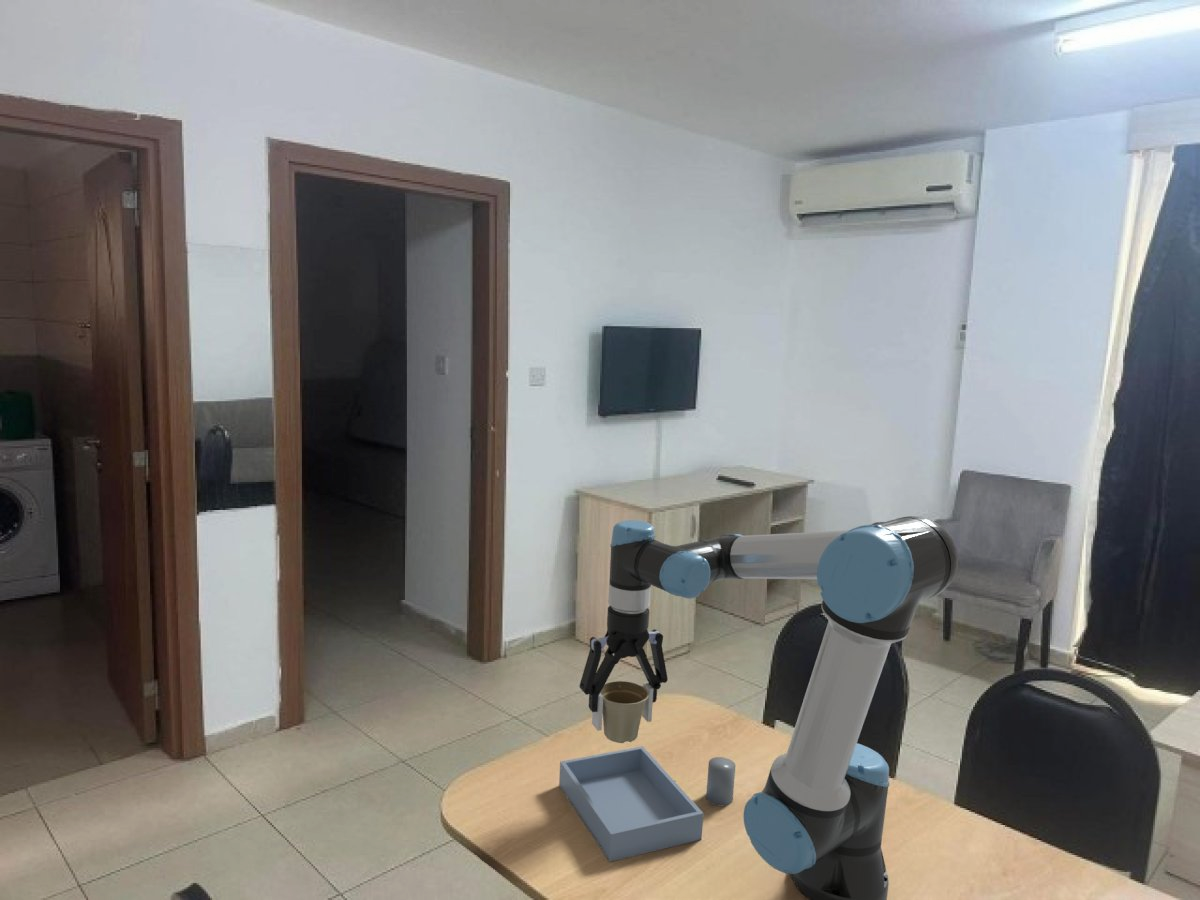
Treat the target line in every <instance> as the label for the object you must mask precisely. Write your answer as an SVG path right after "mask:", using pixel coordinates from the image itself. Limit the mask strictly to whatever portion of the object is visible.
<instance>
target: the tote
mask: <svg viewBox="0 0 1200 900" xmlns="http://www.w3.org/2000/svg"><path fill="white" fill-rule="evenodd" d="M558 785H559V786H558V787H560V789H561V790H562V793H563V794H564V795H565V797H566V799H567V800H568V801H569V803H570V804H571V806H572V807H573V808H574V811H575V812H576V814H577V815H578V816H579V818H580V819H581V821H582V822H583V824H584V826H585V827H586V829H587V831H588V832H589V834H591V836H592V838H593V839H594V840H595V842H596V843H597V845H598V847H599V848H600V850H601V851H602V853H603V854H604V856H605V857H606V858H607V861H608V862H615V861H618V860H622V859H627V858H631V857H636V856H639V855H643V854H646V853H647V854H648V853H652V852H655V851H659V850H660V851H661V850H663V849H667V848H672V847H675V846H680V845H683V844H688V843H693V842H697V841H701V840H702V838H703V835H702V834H703V824H704V812H703V811H702V810H701V808H699V807H698V805H697V804H696V803H695V802H694V801H693V799H692V798H690V796H689V795H687V793H686V792H685V791H684V790H683V789H682V787H680V786H679V785H678V783H677V782H676V781H675V780H674V779H673V778H672V777H671V775H669V774H668V773H667V771H666V770H665V769H664V768H663V766H661V765H660V764H659V762H658V761H657V760H656V759H655V758H654V757H653V756H652V754H650V752H649V751H648V750H647V749H646V748H645V747H644V746H637V747H633V748H632V747H631V748H625V749H620V750H616V751H611V752H610V751H609V752H604V753H598V754H594V755H587V756H582V757H578V758H573V759H566V760H562V761H561V760H560V763H559V783H558Z"/></svg>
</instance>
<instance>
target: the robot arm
mask: <svg viewBox="0 0 1200 900" xmlns="http://www.w3.org/2000/svg"><path fill="white" fill-rule="evenodd" d="M611 535H612V536H611V542H610V545H609V546H610V564H609V565H610V566H609V583H608V600H607V601H608V605H609V606H608V607H607V618H606V622H607V623H606V633H605V634H604V636H603V637H598V638H596V637H594V636H592V637H590V639H589V652H588V655H587V659H586V662H585V665H584V669H583V671H582V672H583V673H582V676H581V679H580V683H579V685H578V687H579V689H581V691H582V692H583V693H584V694H585V695H588V709H589V710H590V712H591V713H592V715H591V725H593V726H594V728H595V730H597V732H598V731H602V727H603V695H602V694H601V693H600V692H601V690H602V689H603V687H604V685H605V683H607V682H608V679H609V678H610V676H611V673H612V672H613V670H614V668H615V666H616V665H617V664H619V662H620V660H621V659H625V658H628V657H629V658H634V657H635V658H636V660H637V661H638V662H637V663H638V664H639V666H640V668H641V671H642V672H643V674H644V676H645V678H646V681H647V682H643V683H642V684H643V685H642V686H644V687H645V688H646V689H647V690H648V692H649V698H648V699H647V700H646V704H645V705H644V707H643V712H642V716H641V718H644V720H645V721H646V722H647V723H649V722H650V723H652V718H653V717H652V716H653V703H656V702H657V699H658V697H657V696H658V690H660V688H661V687H662V683H663V684H665V683H667V682H668V674H667V668H666V662H665V657H664V650H663V642H664V641H663V640H664V635H663V634H662V633H661V632H660V631H658V630H657V629H655V628H654V629H652V630H651V631H649V630H648V629H649V623H650V609H649V608H650V606H651V593H652V591H651V589H652V587H655V588H658V589H660V590H662V591H664V592H667V593H669V594H670V595H673V596H676V597H681V598H685V599H688V600H689V599H694V598H698V597H699V596H700V595H701V593H702V592H705V590H706V589H707V587H708V585H709V584H712V583H713V582H714V583H715V582H719V581H724V580H743V579H744V580H746V579H747V580H748V579H750V580H756V579H757V580H758V579H759V580H762V579H763V580H817V586H818V587H820V589H821V591H820V596H821V598H822V602H821V610H822V613H823V615H824V616H825V617H826V619H827V620H828V622H827V624H826V625H827V626H826V629H825V631H824V633H823V638H822V641H821V644H820V647H819V651H818V652H817V653H818V654H817V656H816V660H815V662H814V666H813V669H812V672H811V676H810V679H809V682H808V685H807V687H806V692H805V694H804V697H803V702H802V704H801V706H800V710H799V713H798V716H797V720H796V723H795V726H794V730H793V733H792V736H791V739H790V741H789V746H788V747H787V752H786V753H783V754H780V755H778V756H777V757H776V758H775V759H774V760H773V762H772V764H771V767H770V770H769V773H768V777H767V780H766V783H765V786H764V788H763V789H762V790H761V791H760V792H757V793H754V794H753V796H751V797H750V798H749V799H748V801H747V802H746V803H745V805H744V807H743V824H744V828H745V832H746V834H747V836H748V838H749V840H750V843H751V845H752V847H753V848H754V850H755V852H756V853H757V854H758V855H759V857H760V858H761V859H762V860H764V862H765V863H767V864H768V865H769V866H770V867H772V869H775V870H777V871H779V872H781V873H784V874H786V875H788V874H790V875H791V878H792V882H793V883H794V885H795V886H796V888H797V889H798V890H799V891H800V893H802V894H803V896H804V897H806V898H807V899H809V900H887V898H888V892H889V884H890V883H889V876H888V871H887V868H886V862H885V859H884V855H883V849H882V840H883V833H884V832H883V831H884V824H885V823H884V822H885V818H886V817H885V816H886V808H887V807H886V806H887V799H888V791H889V786H890V780H889V779H890V767H889V764H888V763H887V761H886V760H885V758H884V757H883V756H882V755H881V754H879V752H878V751H876V750H873V749H872V748H870V747H868V746H865V745H863V744H860V743H858V740H859V738H860V735H861V731H862V729H863V725H864V724H865V720H866V718H867V715H868V711H869V710H870V706H871V703H872V701H873V697H874V694H875V691H876V689H877V685H878V683H879V679H880V677H881V674H882V671H883V668H884V665H885V662H886V660H887V657H888V653H889V651H890V649H891V648H890V647H891V646H892V644H893V643H894V644H895V643H898V642H901V641H903V640H905V638H906V637H907V636H908V634H909V631H910V629H911V626H912V623H913V619H914V617H915V613H916V611H917V608H918V606H919V604H920V603H921V602H924V601H927V600H928V599H931V598H933V597H936V596H938V595H940V594H941V593H942V592H944V591H945V590H946V589H947V587H949V586H950V585H951V583H952V582H953V581H954V579H955V576H956V574H957V571H958V567H959V552H958V548H957V545H956V543H955V540H954V539H953V537H952V536H951V534H950V533H949V532H948V531H947V529H945V528H944V527H943V526H942V525H941V524H939V523H938V522H936V521H934V520H932V519H929V518H928V517H927V518H926V517H922V516H914V515H913V516H911V515H910V516H902V517H898V518H895V519H890V520H887V521H879V522H878V521H877V522H872V523H870V524H864V525H859V526H857V527H854V528H852V529H849V530H834V531H833V530H831V531H811V532H808V531H807V532H788V533H771V534H768V533H767V534H752V535H751V534H750V535H747V534H746V535H742V534H739V533H728V534H723V535H719V536H717V537H713V538H709V539H705V540H698V541H692V542H689V543H685V544H680V545H670V544H668V543H663V542H661V541H659V540H656V539H655V538H656V535H655V527H654V526H653V525H652V524H651V523H649V522H647V521H642V520H635V519H634V520H623V521H618V522H617V523H616V524H615V525H614V526H613V529H612V534H611ZM647 642H649V643H650V645H649V646H650V651H651V657H652V661H653V666H654V669H653V668H652V666H651V663H650V661H649V659H648V655H647V653H646V651H645V648H644V646H645V645H646V643H647ZM606 645H607V649H606V650H605V646H606ZM604 650H605V652H604V658H603V659H602V661H601V658H602V657H601V656H602V652H603V651H604ZM600 661H601V663H600ZM599 664H600V665H599ZM654 671H655V672H654Z"/></svg>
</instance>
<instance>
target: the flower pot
mask: <svg viewBox="0 0 1200 900" xmlns="http://www.w3.org/2000/svg"><path fill="white" fill-rule="evenodd" d="M600 693H601V694H602V695H603V713H602V726H603V734H604V736H605V737H606V739H607V740H609V741H610V742H614V743H616V744H624V743H627V742H629V743H632V742H634V741H635V740H636V739H637V738H638V735H639V730H640V724H641V719H642V712H643V707H644V705H645V704H646V700H647V699H648V698H649V692H648V690H647V689H646V688H645V687H644V686H643V685H642V684H639V683H636V682H634V681H629V680H612V681H606V683H605V685H604V687H603V689H602V690H601V692H600Z"/></svg>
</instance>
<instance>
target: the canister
mask: <svg viewBox="0 0 1200 900" xmlns="http://www.w3.org/2000/svg"><path fill="white" fill-rule="evenodd" d="M707 768H708V769H707V779H706V781H707V783H706V791H705V792H706V793H705V794H706V795H705V797H706V800H707V801H708V802H709V803H710V804H713V805H715V806H717V807H718V806H719V807H725V806H729V805H731V804H732V803H733V801H734V788H735V779H736V777H735V776H736V775H735V774H736V764H735V762H734V761H733V760H732V759H730V758H727V757H724V756H723V757H722V756H716V757H712V758H710V759H709V761H708V767H707Z"/></svg>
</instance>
